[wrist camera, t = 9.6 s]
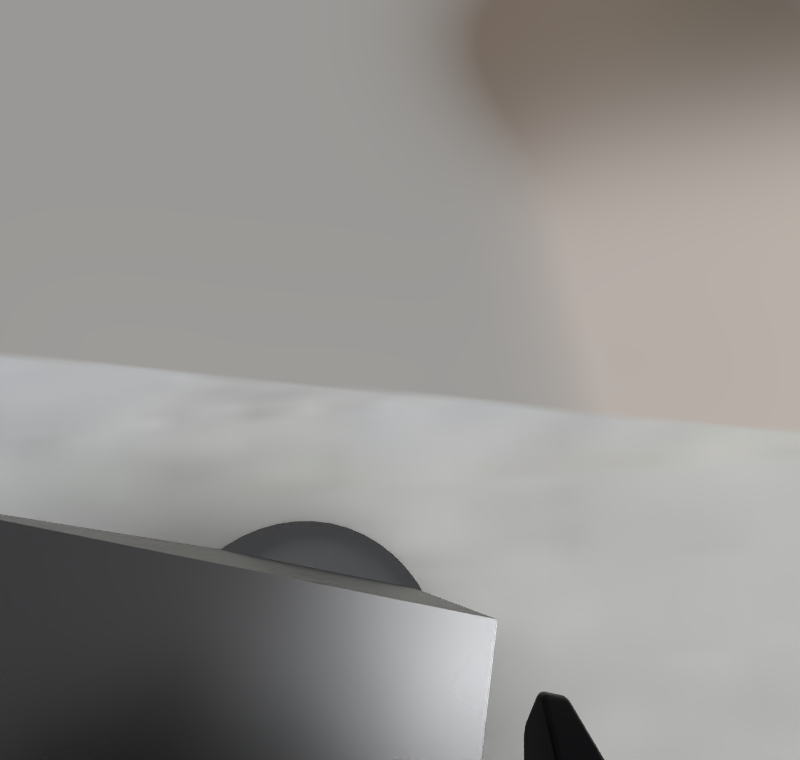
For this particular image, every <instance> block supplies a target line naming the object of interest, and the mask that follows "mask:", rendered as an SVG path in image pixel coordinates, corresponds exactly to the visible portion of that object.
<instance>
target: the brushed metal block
mask: <svg viewBox="0 0 800 760" xmlns="http://www.w3.org/2000/svg"><path fill="white" fill-rule="evenodd" d="M497 621H498V620H497V619H495V618H492V617H489V616H487V615H484V614H481V613H479V612H476V611H473V610H471V609H468V608H465V607H463V606H460V605H457V604H455V603H452V602H449V601H447V600H444V599H441V598H438V597H436V596H433V595H430V594H428V593H425V592H422V591H420V590H417V589H414V588H412V587H407V586H402V585H397V584H392V583H387V582H382V581H377V580H371V579H366V578H361V577H356V576H351V575H346V574H341V573H336V572H331V571H326V570H321V569H316V568H311V567H306V566H301V565H296V564H291V563H286V562H281V561H276V560H271V559H266V558H261V557H256V556H251V555H246V554H241V553H236V552H231V551H226V550H219V549H213V548H207V547H201V546H194V545H188V544H182V543H176V542H170V541H163V540H157V539H151V538H145V537H138V536H132V535H126V534H120V533H113V532H107V531H101V530H95V529H89V528H82V527H76V526H70V525H64V524H57V523H51V522H45V521H39V520H33V519H26V518H20V517H14V516H8V515H1V514H0V760H481V758H482V750H483V741H484V733H485V724H486V715H487V707H488V698H489V690H490V681H491V672H492V664H493V655H494V646H495V638H496V629H497Z"/></svg>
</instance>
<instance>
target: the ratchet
mask: <svg viewBox="0 0 800 760" xmlns="http://www.w3.org/2000/svg"><path fill="white" fill-rule="evenodd" d="M221 550H226V551H231V552H236V553H241V554H246V555H251V556H256V557H261V558H266V559H271V560H276V561H281V562H286V563H291V564H296V565H301V566H306V567H311V568H316V569H321V570H326V571H331V572H336V573H341V574H346V575H351V576H356V577H361V578H366V579H371V580H377V581H382V582H387V583H392V584H397V585H402V586H407V587H412V588H414V589H417V590H420V591H422V590H421V588H420V587H419V585H418V583H417V582H416V581H415V579H414V578H413V577H412V575H411V574H410V573H409V571H408V570H407V569H406V568H405V566H404V565H403V564H402V563H401V562H400V561H399V560H398V559H397V558H396V557H395V556H394V555H393V554H391V553H390V552H389V551H388V550H386V549H385V548H384V547H382V546H381V545H380V544H378V543H377V542H375V541H373V540H372V539H370V538H368V537H366V536H365V535H363V534H360V533H358V532H356V531H353V530H351V529H348V528H345V527H341V526H338V525H334V524H330V523H322V522H313V521H308V522H289V523H282V524H276V525H273V526H269V527H266V528H262V529H259V530H257V531H254V532H252V533H250V534H247V535H245V536H243V537H241V538H239V539H237V540H236V541H234V542H232V543H230V544H229V545H227V546H225V547H224V548H223V549H221Z"/></svg>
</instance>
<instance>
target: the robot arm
mask: <svg viewBox="0 0 800 760" xmlns="http://www.w3.org/2000/svg"><path fill="white" fill-rule="evenodd" d="M524 760H604V758H603V757H602V755H601V753H600V752H599V750H598V748H597V747H596V745H595V743H594V742H593V740H592V738H591V737H590V735H589V733H588V732H587V730H586V728H585V726H584V725H583V723H582V721H581V720H580V718H579V716H578V715H577V713H576V711H575V710H574V708H573V706H572V705H571V703H570V701H569V700H568V699H567V698H566V697H565V696H562V695H558V694H553V693H548V692H540V693H539V694H538V696H537V697H536V700H535V702H534V705H533V707H532V710H531V712H530V715H529V717H528V720H527V722H526V726H525V732H524Z"/></svg>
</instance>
